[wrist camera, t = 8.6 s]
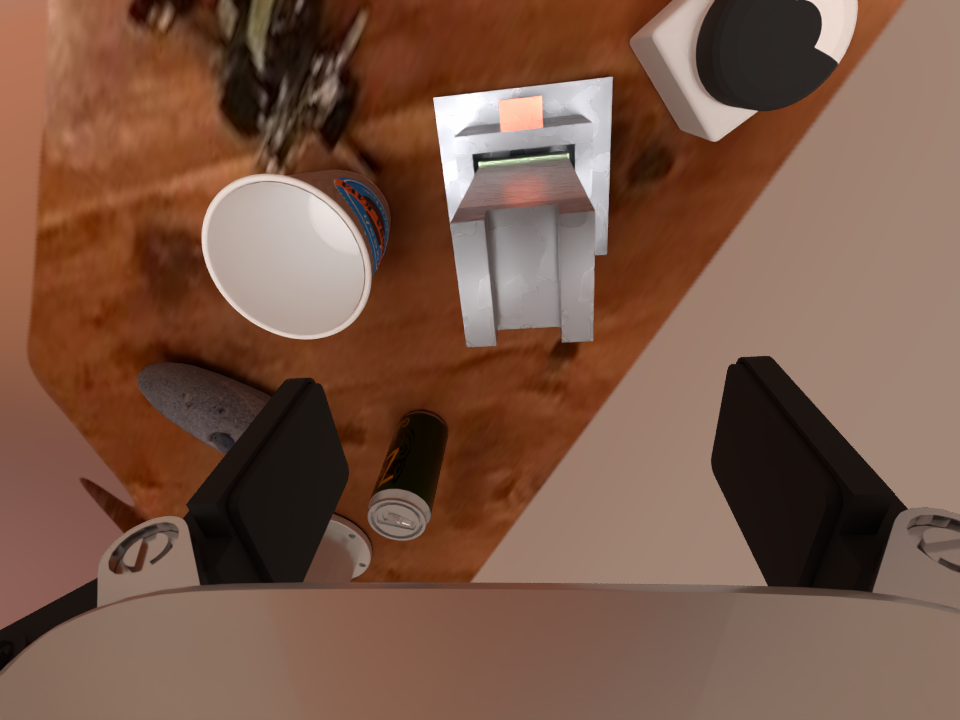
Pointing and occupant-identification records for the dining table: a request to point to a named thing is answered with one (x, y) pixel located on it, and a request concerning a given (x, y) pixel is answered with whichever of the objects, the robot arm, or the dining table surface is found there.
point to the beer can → (409, 477)
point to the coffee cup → (297, 248)
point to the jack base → (530, 135)
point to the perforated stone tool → (202, 401)
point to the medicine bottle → (740, 56)
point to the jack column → (525, 249)
